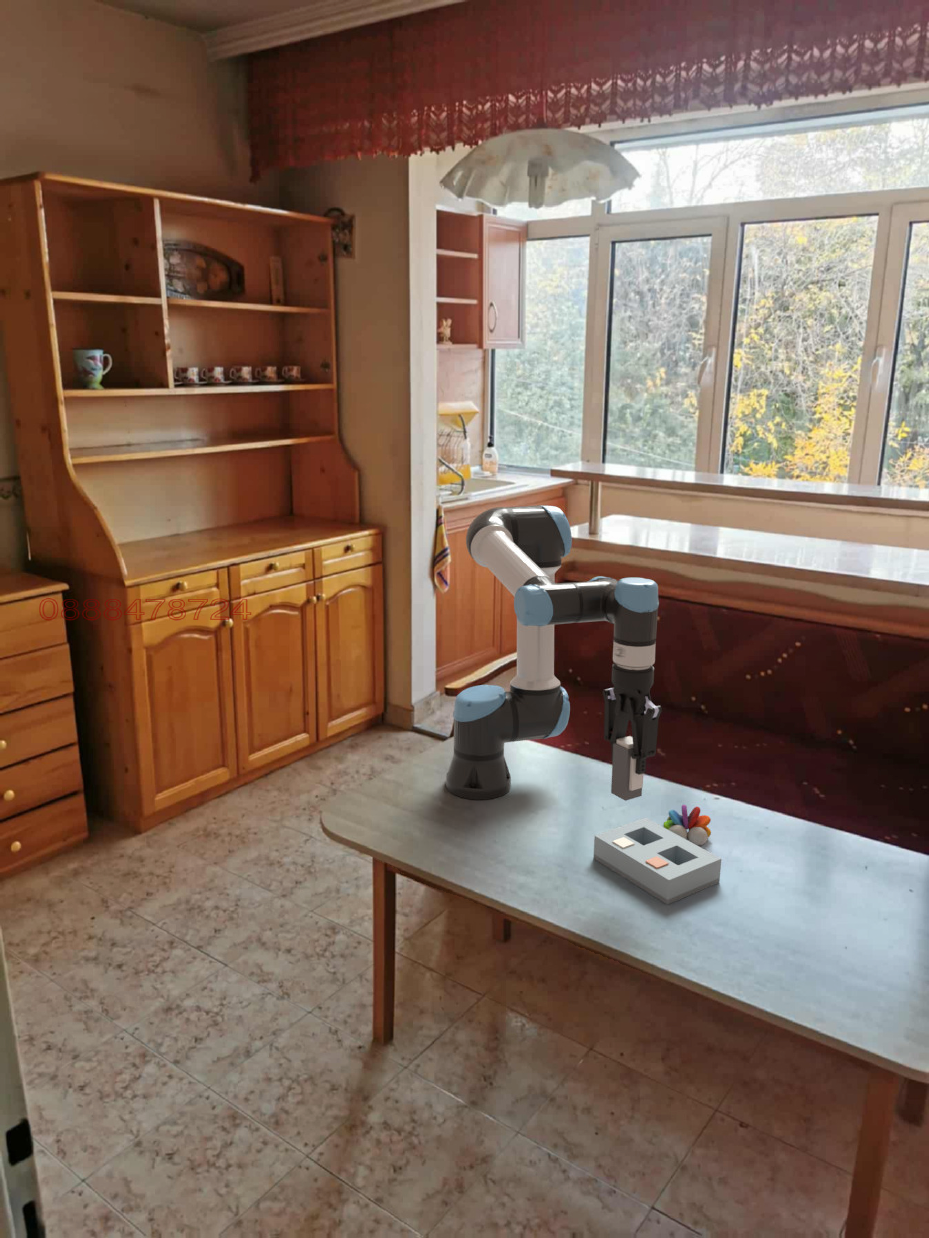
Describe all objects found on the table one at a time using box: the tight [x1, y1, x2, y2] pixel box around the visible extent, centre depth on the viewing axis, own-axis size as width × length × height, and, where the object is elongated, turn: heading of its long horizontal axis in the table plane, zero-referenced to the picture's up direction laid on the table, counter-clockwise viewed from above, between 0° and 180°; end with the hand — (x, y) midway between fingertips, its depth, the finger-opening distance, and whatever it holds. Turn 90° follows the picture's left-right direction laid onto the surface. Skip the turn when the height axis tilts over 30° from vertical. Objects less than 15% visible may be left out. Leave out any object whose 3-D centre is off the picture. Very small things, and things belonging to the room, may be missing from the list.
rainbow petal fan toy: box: [662, 804, 712, 847], centre depth 194 cm, size 8×10×7 cm
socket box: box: [593, 817, 722, 905], centre depth 181 cm, size 20×14×5 cm
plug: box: [610, 735, 643, 802], centre depth 173 cm, size 4×4×11 cm
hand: (627, 783), depth 174 cm, fingers closed on plug, 4 cm apart
